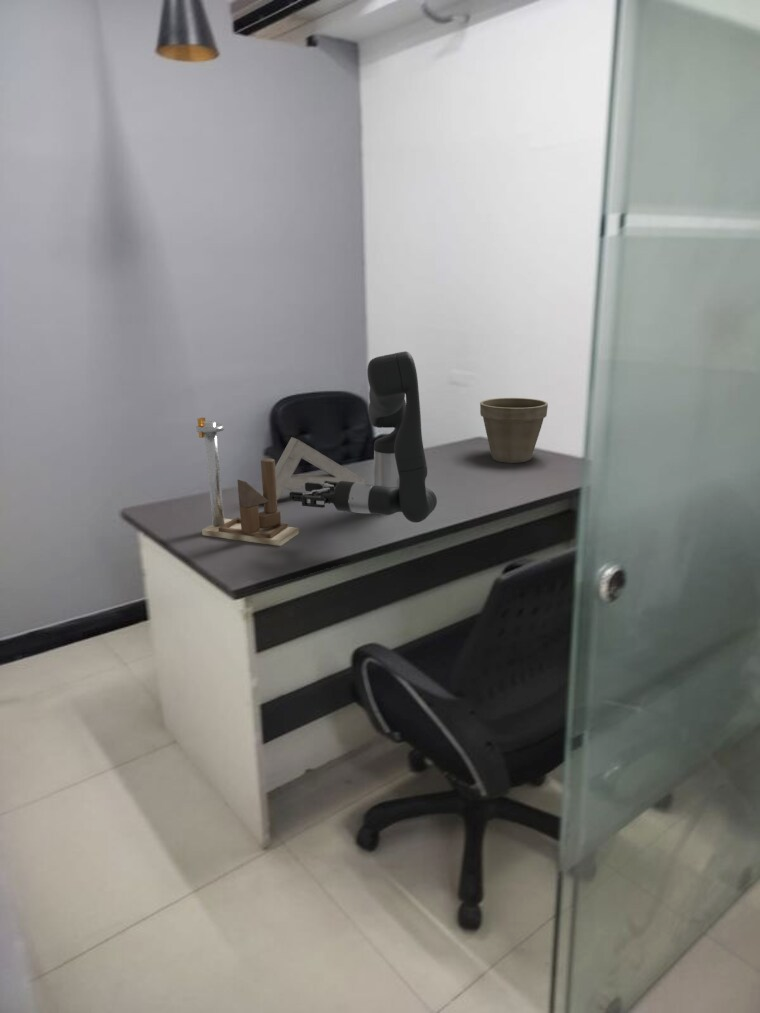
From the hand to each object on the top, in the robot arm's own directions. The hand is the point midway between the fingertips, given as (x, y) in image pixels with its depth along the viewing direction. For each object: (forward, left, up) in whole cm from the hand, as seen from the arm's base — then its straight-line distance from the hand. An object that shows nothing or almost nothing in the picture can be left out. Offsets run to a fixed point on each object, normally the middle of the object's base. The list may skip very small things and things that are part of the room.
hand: (298, 491), depth 175 cm
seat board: (+15, 0, -14) cm, 20 cm away
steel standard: (+25, 0, -14) cm, 29 cm away
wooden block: (+11, 0, -11) cm, 16 cm away
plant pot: (-36, -105, -14) cm, 112 cm away
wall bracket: (+15, -38, -14) cm, 44 cm away
